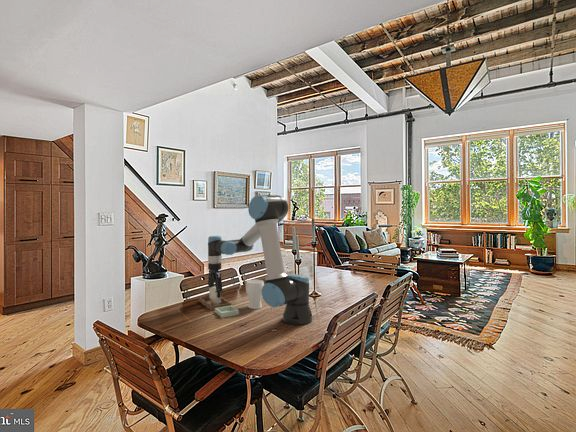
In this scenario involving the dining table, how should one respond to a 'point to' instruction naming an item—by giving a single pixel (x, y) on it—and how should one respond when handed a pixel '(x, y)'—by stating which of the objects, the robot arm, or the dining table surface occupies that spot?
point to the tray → (207, 303)
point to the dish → (227, 311)
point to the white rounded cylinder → (213, 296)
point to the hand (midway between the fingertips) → (214, 300)
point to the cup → (254, 293)
